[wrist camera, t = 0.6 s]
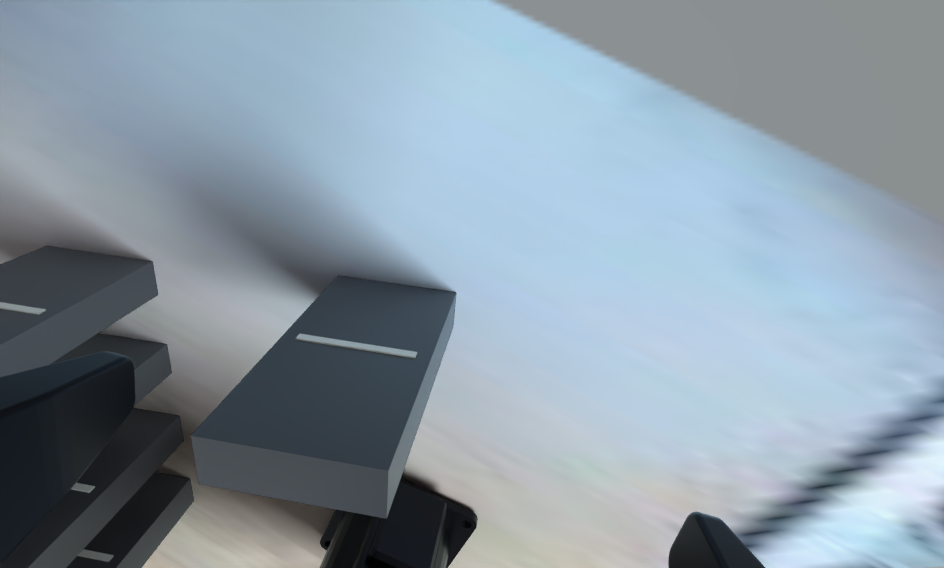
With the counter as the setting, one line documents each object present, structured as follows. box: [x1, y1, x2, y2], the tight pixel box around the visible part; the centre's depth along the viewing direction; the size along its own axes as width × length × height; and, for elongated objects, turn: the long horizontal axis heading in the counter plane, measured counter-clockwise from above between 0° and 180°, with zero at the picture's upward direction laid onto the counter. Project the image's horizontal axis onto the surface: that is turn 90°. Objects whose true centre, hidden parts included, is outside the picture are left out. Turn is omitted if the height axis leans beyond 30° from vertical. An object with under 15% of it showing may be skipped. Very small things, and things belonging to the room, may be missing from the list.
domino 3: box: [0, 408, 183, 568], centre depth 23 cm, size 2×5×10 cm, turn 85°
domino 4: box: [66, 472, 194, 568], centre depth 24 cm, size 2×5×10 cm, turn 84°
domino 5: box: [191, 276, 456, 519], centre depth 18 cm, size 2×5×10 cm, turn 85°
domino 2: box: [49, 333, 172, 405], centre depth 21 cm, size 2×5×10 cm, turn 85°
